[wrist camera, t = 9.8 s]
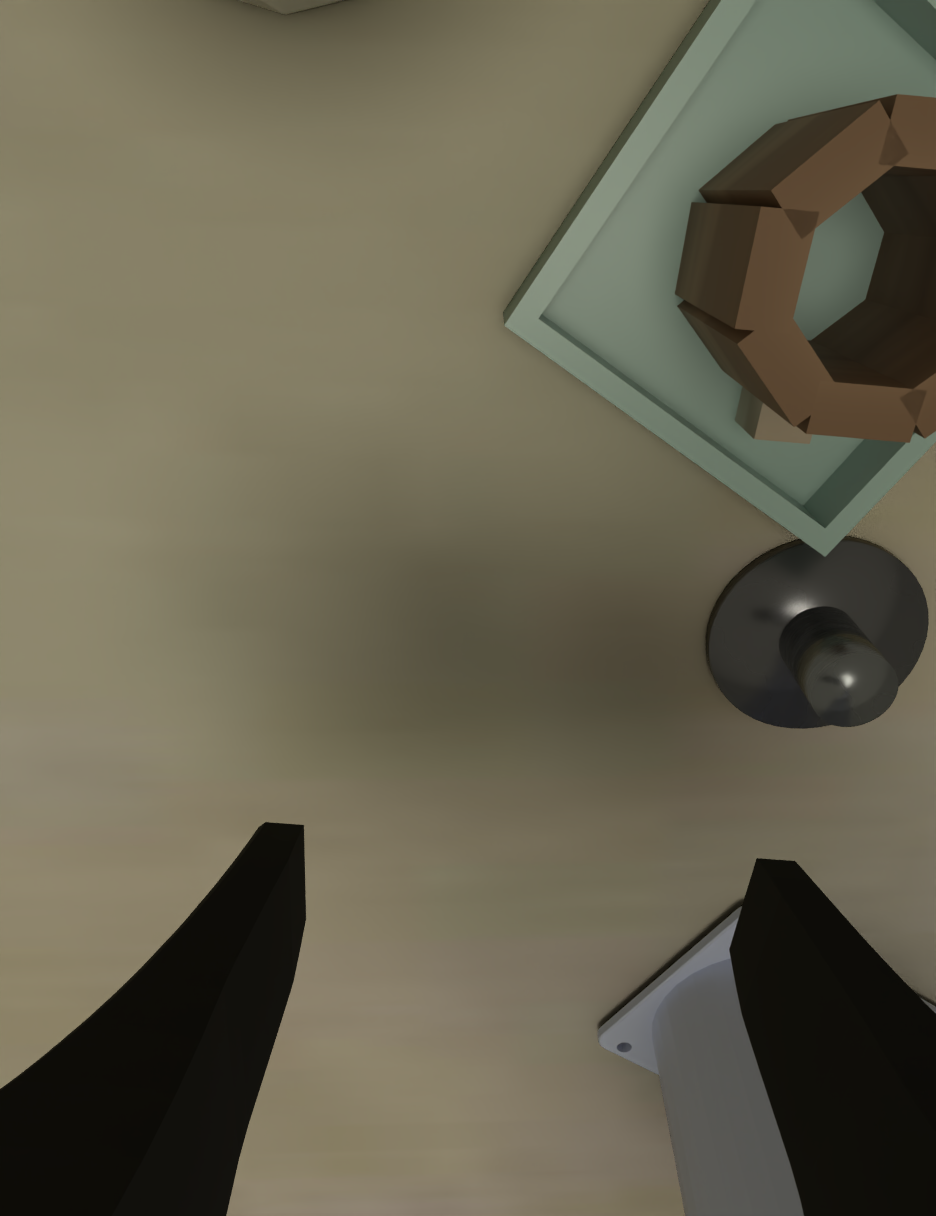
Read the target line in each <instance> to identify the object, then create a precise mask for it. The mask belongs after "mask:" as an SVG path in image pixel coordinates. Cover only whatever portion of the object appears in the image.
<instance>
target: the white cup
mask: <svg viewBox="0 0 936 1216" xmlns="http://www.w3.org/2000/svg"><path fill="white" fill-rule="evenodd" d="M238 1H241V2H245V3H248V4H251V5H254V6H258V7H261V8H264V9H267V10H271V11H274V12H277V13H280V14H284V15H287V14H291V13H295V12H299V11H303V10H307V9H311V8H315V7H319V6H323V5H327V4H331V3H335V2H339V1H343V0H238Z"/></svg>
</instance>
